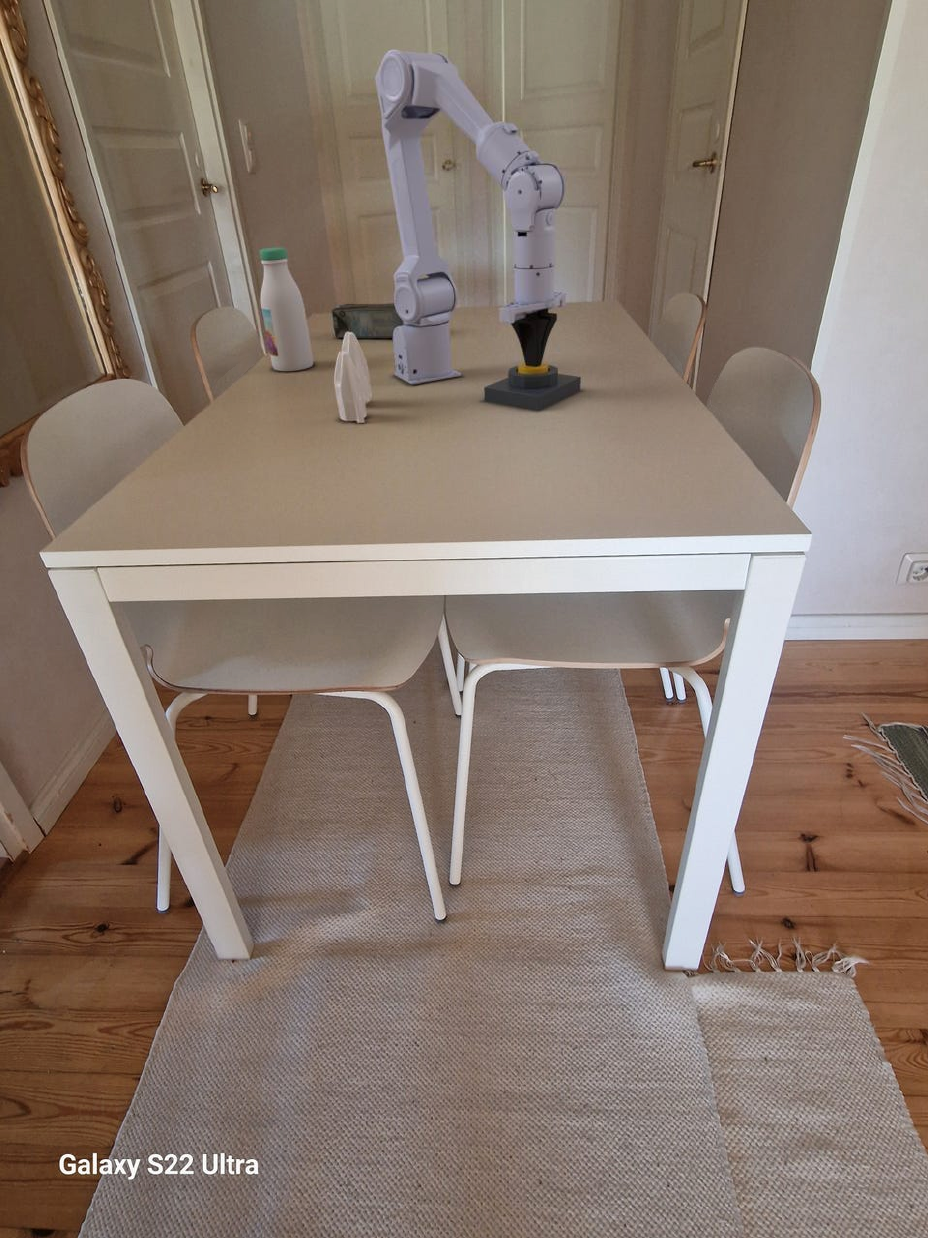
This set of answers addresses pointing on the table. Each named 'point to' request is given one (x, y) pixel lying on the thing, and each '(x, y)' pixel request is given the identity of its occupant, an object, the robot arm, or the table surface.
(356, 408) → the white pointed piece
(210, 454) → the table surface
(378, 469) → the table surface
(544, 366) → the button
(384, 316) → the beverage carton
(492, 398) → the grey button base
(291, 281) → the milk bottle
